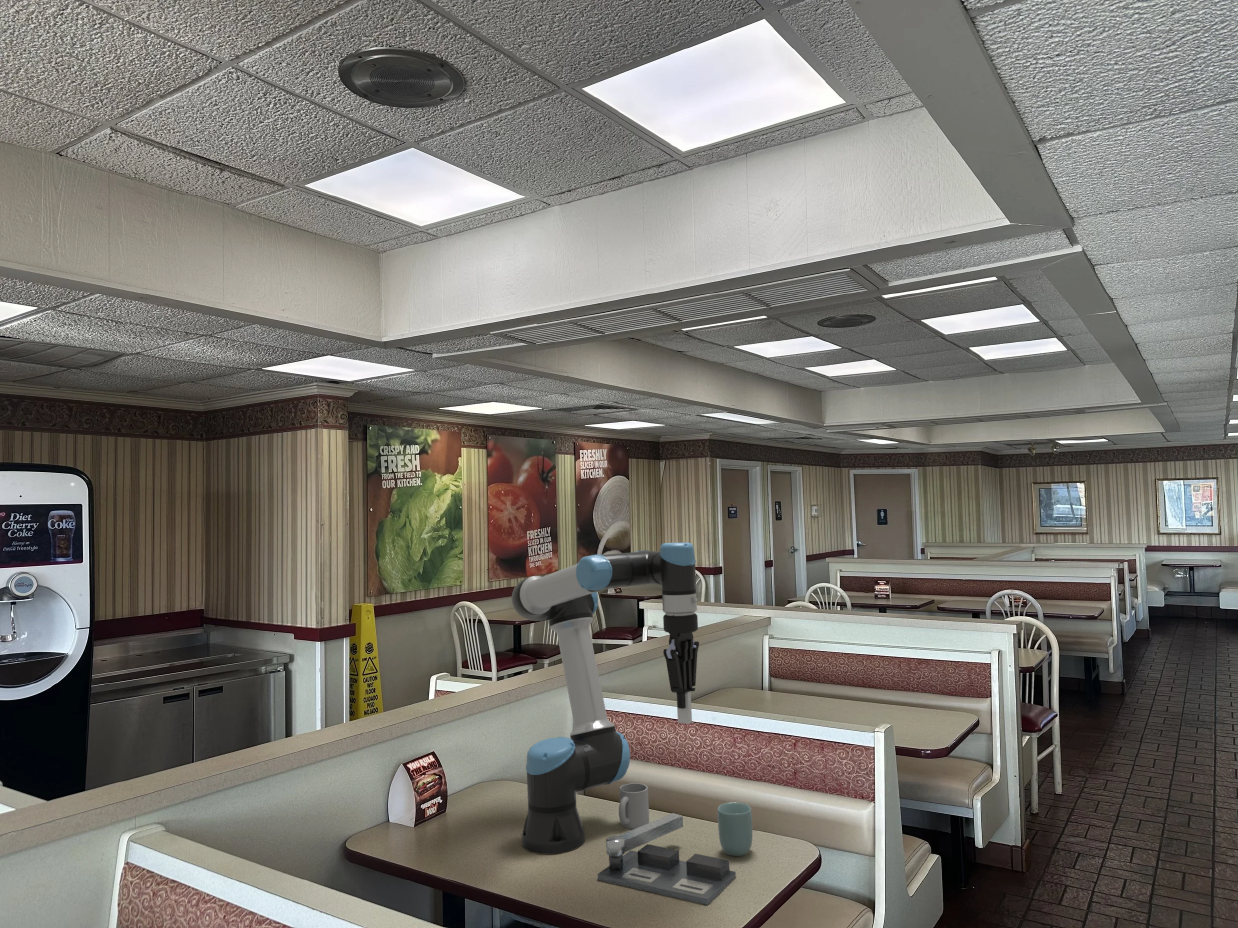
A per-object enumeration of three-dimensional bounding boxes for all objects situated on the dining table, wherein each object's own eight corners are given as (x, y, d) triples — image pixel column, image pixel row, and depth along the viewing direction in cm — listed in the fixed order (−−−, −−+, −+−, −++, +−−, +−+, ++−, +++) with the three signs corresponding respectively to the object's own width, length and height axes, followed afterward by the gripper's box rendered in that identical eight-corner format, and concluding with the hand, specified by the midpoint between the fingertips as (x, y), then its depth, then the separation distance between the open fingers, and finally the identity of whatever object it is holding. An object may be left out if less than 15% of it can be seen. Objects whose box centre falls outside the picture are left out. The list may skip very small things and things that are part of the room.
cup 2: (752, 860, 186) (750, 814, 187) (717, 858, 188) (715, 813, 188) (754, 846, 194) (752, 802, 194) (720, 844, 195) (718, 801, 196)
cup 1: (654, 821, 212) (653, 785, 212) (633, 835, 203) (631, 797, 204) (630, 816, 216) (629, 781, 216) (608, 829, 207) (607, 793, 208)
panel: (597, 879, 179) (596, 859, 180) (630, 855, 191) (629, 836, 192) (707, 905, 166) (706, 883, 166) (735, 877, 178) (734, 857, 178)
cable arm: (615, 857, 180) (614, 844, 180) (602, 852, 182) (602, 839, 183) (684, 827, 195) (684, 814, 195) (672, 822, 198) (671, 810, 198)
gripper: (681, 617, 176) (686, 731, 174) (708, 610, 187) (713, 716, 185) (650, 616, 180) (655, 727, 178) (678, 609, 191) (683, 713, 189)
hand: (684, 722), depth 182 cm, fingers closed
